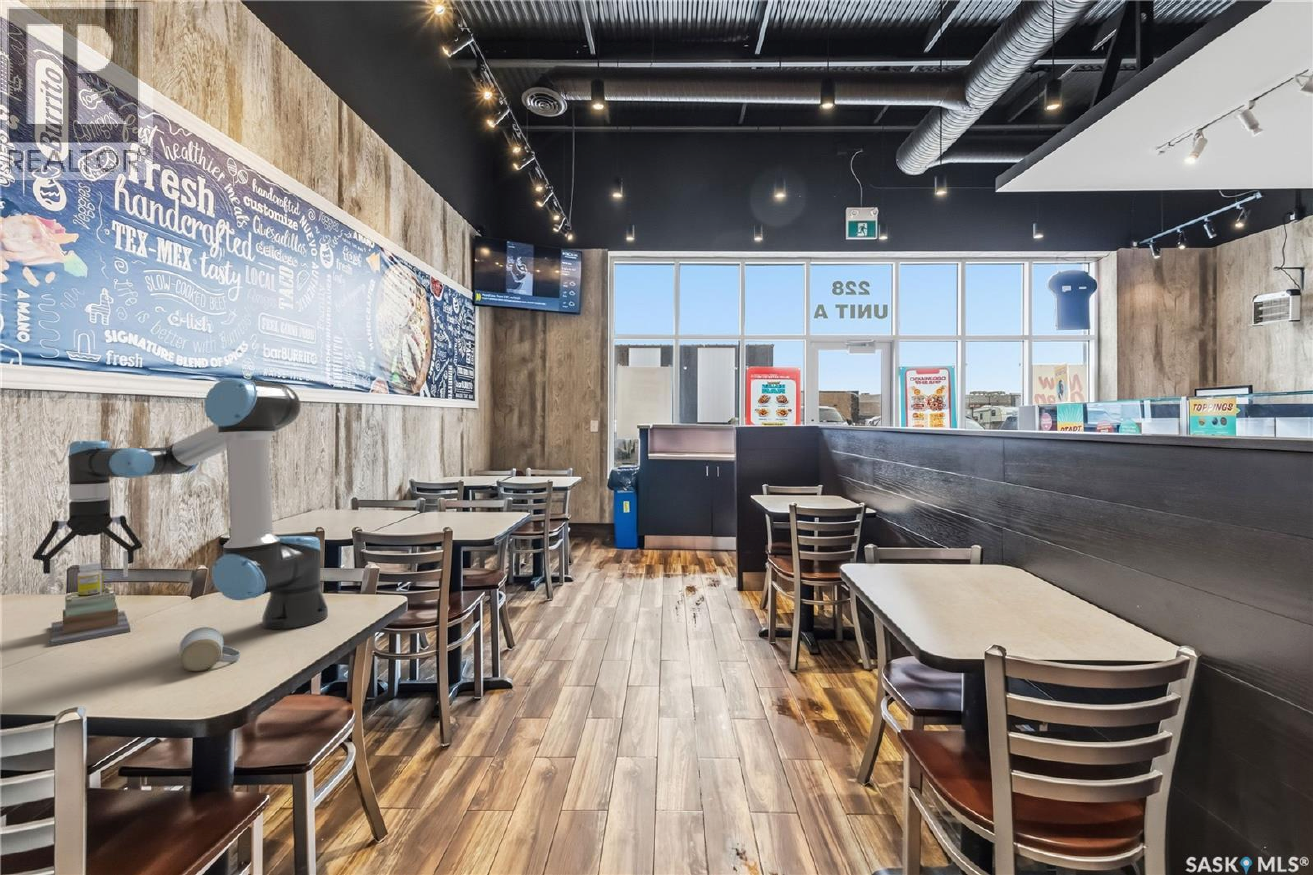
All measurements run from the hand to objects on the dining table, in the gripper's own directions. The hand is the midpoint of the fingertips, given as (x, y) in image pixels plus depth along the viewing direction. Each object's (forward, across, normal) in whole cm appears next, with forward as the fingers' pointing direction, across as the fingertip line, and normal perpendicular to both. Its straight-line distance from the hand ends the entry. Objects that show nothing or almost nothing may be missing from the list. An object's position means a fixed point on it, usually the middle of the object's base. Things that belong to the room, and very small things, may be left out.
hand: (90, 581), depth 149 cm
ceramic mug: (+13, -17, +51) cm, 56 cm away
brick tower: (+13, 0, 0) cm, 13 cm away
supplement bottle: (+4, 0, 0) cm, 4 cm away
